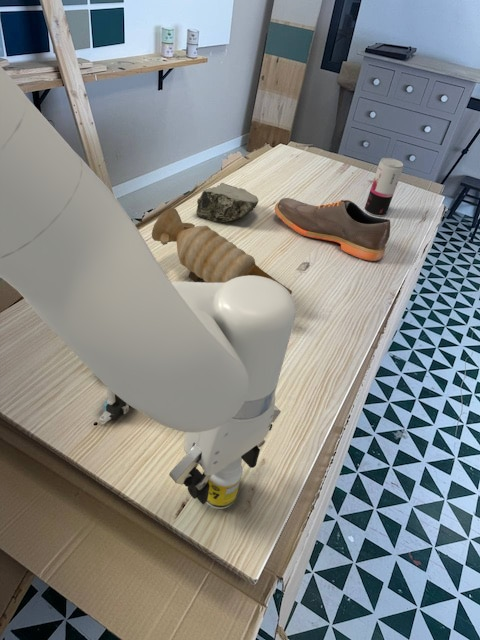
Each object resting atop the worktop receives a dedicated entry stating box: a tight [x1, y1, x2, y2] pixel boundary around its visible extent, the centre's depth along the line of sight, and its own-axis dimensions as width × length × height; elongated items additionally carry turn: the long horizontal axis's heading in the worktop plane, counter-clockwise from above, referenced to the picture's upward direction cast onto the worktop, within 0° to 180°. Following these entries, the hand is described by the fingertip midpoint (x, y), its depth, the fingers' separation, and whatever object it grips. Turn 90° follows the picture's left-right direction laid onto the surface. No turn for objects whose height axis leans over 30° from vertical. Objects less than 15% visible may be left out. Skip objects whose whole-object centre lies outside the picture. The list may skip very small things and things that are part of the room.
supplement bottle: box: [205, 457, 243, 510], centre depth 60 cm, size 5×5×8 cm
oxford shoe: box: [274, 197, 391, 262], centre depth 119 cm, size 11×31×11 cm, turn 60°
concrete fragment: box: [195, 182, 259, 223], centre depth 121 cm, size 15×10×15 cm
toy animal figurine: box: [151, 207, 293, 295], centre depth 95 cm, size 10×12×30 cm
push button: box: [98, 386, 130, 426], centre depth 68 cm, size 7×5×10 cm
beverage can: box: [364, 157, 404, 217], centre depth 133 cm, size 6×7×15 cm
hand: (222, 475), depth 60 cm, fingers open, 7 cm apart
